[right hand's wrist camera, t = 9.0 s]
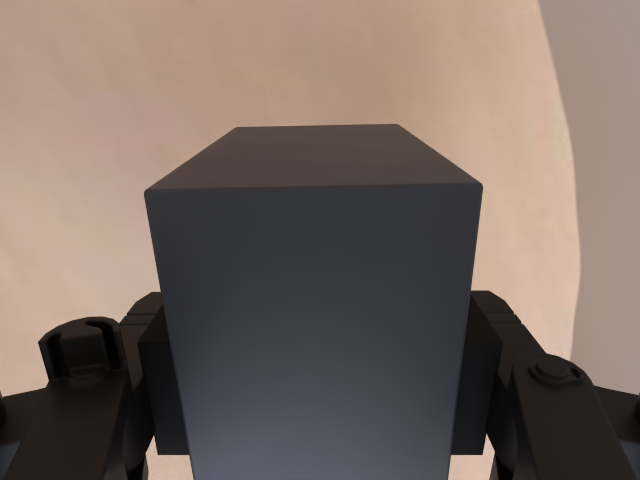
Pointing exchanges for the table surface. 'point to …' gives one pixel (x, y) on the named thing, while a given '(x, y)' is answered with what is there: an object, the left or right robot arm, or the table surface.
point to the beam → (317, 301)
